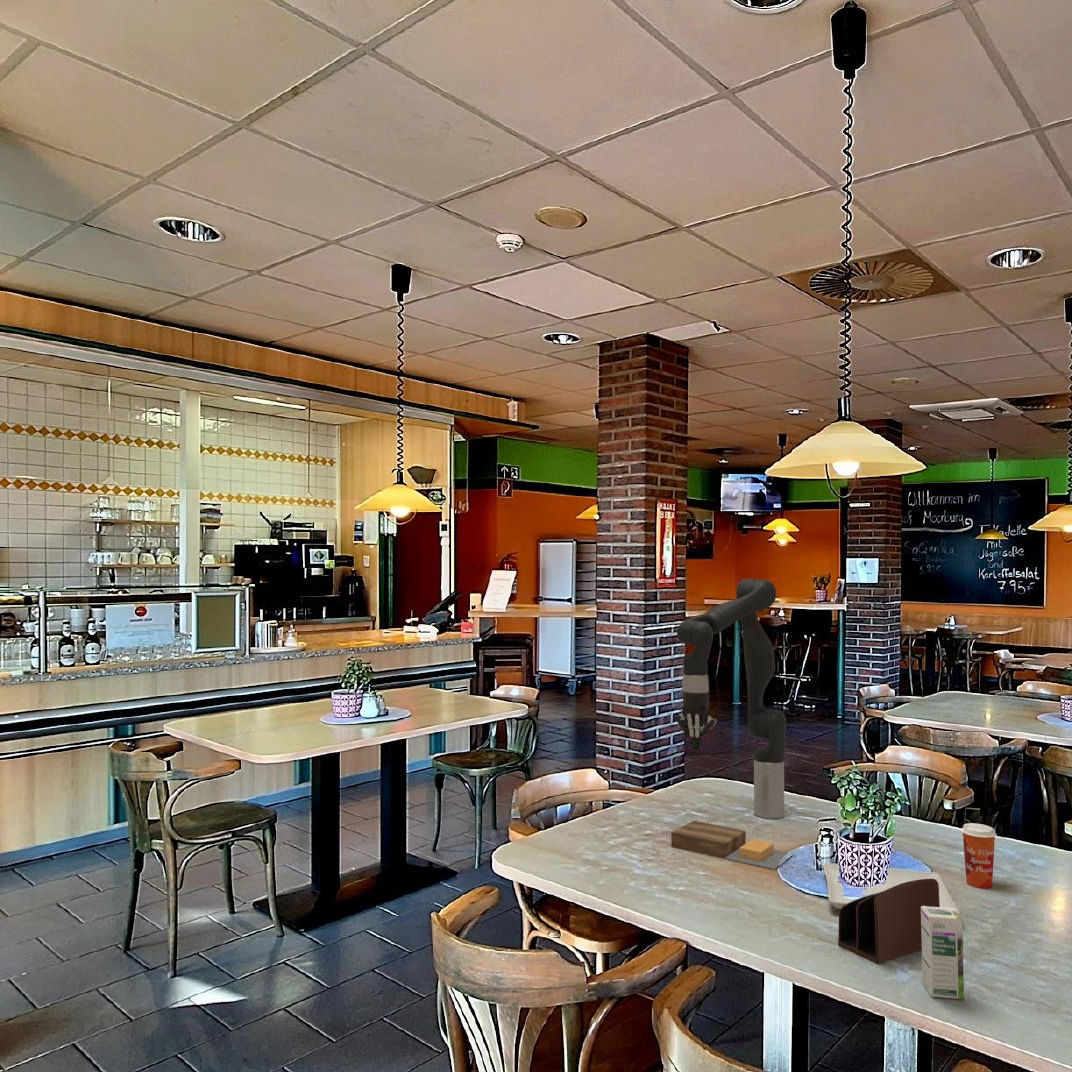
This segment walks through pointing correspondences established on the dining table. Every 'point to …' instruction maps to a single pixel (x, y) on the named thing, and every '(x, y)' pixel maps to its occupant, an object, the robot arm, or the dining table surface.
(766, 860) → the mat
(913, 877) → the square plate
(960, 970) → the syrup box
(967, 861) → the paper cup
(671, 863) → the dining table surface
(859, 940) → the letter holder
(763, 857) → the orange rectangular block
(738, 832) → the wooden block
